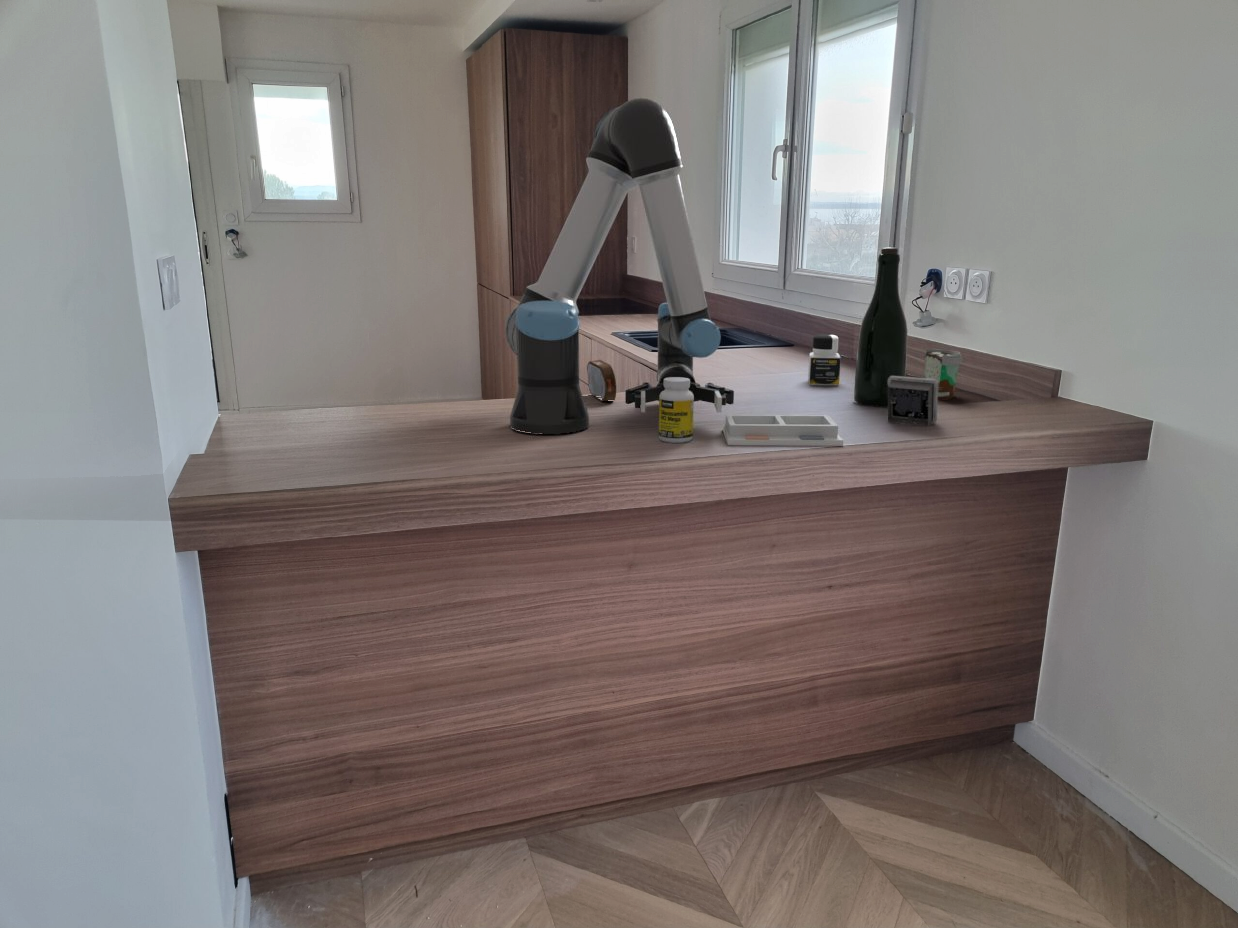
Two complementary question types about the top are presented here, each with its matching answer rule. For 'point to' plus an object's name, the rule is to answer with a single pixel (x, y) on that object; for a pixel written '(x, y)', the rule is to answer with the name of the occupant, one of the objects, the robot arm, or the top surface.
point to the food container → (942, 370)
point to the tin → (601, 380)
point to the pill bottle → (676, 411)
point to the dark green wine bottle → (881, 336)
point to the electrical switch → (912, 400)
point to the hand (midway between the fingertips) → (681, 405)
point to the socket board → (781, 430)
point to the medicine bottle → (824, 361)
